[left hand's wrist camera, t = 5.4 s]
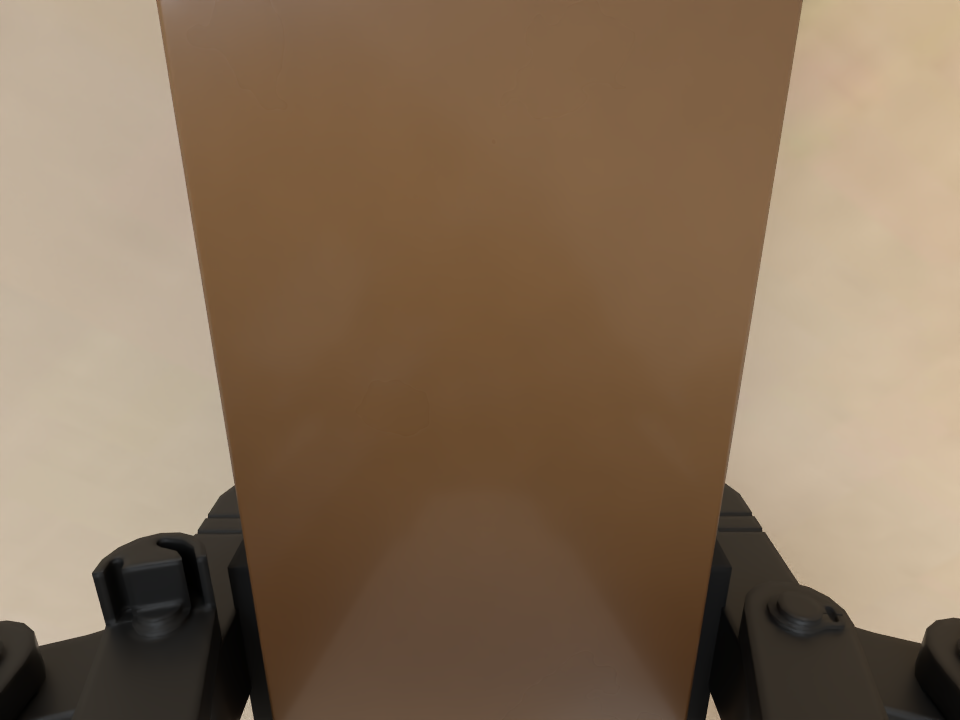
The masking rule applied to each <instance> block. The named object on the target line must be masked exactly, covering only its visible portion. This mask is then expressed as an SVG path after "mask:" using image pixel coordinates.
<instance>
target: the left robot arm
mask: <svg viewBox="0 0 960 720" xmlns="http://www.w3.org/2000/svg"><path fill="white" fill-rule="evenodd" d="M92 576H93V579H94V583H95V587H96V590H97V594H98V598H99V601H100V605H101V609H102V612H103V616H104V620H105V623H106V627H105V630H102V631H99V632H96V633H92V634H89V635H86V636H81V637H77V638H73V639H68V640H64V641H60V642H55V643H51V644H47V645H42V646H38V643H37V640H36V636H35V633H34V631H33V630H32V629H30V628H29V627H28V626H27V625H26V624H24V623H19V622H13V621H0V720H240V718H241V715H242V713H243V710H244V708H245V705H246V702H247V700H248V697H249V695H250V699H251V705H252V711H253V716H254V720H273V718H272V712H271V705H270V699H269V693H268V687H267V681H266V675H265V668H264V662H263V656H262V650H261V644H260V637H259V631H258V625H257V619H256V613H255V607H254V600H253V594H252V588H251V582H250V576H249V569H248V563H247V557H246V551H245V545H244V539H243V532H242V526H241V520H240V514H239V508H238V501H237V495H236V489H235V486H233V487H232V488H231V489H229V490H228V491H226V492H225V493H224V494H222V495H221V496H220V497H219V499H218V500H217V502H216V503H215V505H214V506H213V508H212V509H211V511H210V512H209V514H208V518H206V519H205V520H204V522H203V523H202V525H201V526H200V528H199V529H198V534H195V535H194V536H192V535H188V534H184V533H159V534H155V535H151V536H147V537H142V538H139V539H136V540H134V541H132V542H130V543H128V544H125V545H123V546H121V547H119V548H117V549H116V550H115V551H113V552H112V553H110V554H109V555H108V556H106V557H105V558H104V559H102V560H101V562H100V563H99V564H98V566H97V567H96V569H95V570H94V571H93V573H92ZM710 693H711V695H712V698H713V700H714V703H715V705H716V708H717V711H718V713H719V716H720V718H721V720H960V619H959V618H949V619H943V620H936V621H935V622H934V623H933V624H932V625H930V626H929V627H928V628H927V629H926V632H925V635H924V638H923V641H922V644H921V643H916V642H912V641H908V640H903V639H899V638H895V637H890V636H886V635H881V634H877V633H873V632H870V631H866V630H863V629H860V628H856V627H855V626H854V624H853V623H852V621H851V619H850V618H849V616H848V615H847V613H846V612H845V610H844V609H843V608H841V607H840V606H839V605H838V604H837V603H835V602H834V601H833V600H832V599H831V598H829V597H828V596H826V595H824V594H822V593H820V592H818V591H816V590H814V589H812V588H810V587H806V586H803V585H799V583H798V582H797V580H796V579H795V577H794V576H793V574H792V573H791V571H790V570H789V568H788V567H787V565H786V563H785V562H784V560H783V559H782V557H781V556H780V554H779V553H778V551H777V550H776V548H775V547H774V545H773V544H772V542H771V541H770V539H769V538H768V536H767V535H766V533H765V532H762V527H761V526H760V524H759V523H758V521H757V519H756V518H755V516H752V512H751V510H750V509H749V507H748V506H747V504H746V503H745V501H744V500H743V498H742V497H741V495H740V494H739V493H738V492H736V491H735V490H734V489H732V488H731V487H729V486H728V485H727V484H725V485H724V491H723V497H722V504H721V510H720V516H719V522H718V528H717V535H716V541H715V547H714V553H713V559H712V566H711V572H710V578H709V584H708V590H707V597H706V603H705V609H704V615H703V621H702V628H701V634H700V640H699V646H698V652H697V659H696V665H695V671H694V677H693V683H692V690H691V696H690V702H689V708H688V714H687V720H706V714H707V708H708V703H709V697H710Z"/></svg>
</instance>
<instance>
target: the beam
mask: <svg viewBox="0 0 960 720" xmlns="http://www.w3.org/2000/svg"><path fill="white" fill-rule="evenodd" d="M156 1H157V7H158V13H159V19H160V26H161V32H162V38H163V44H164V50H165V57H166V63H167V69H168V75H169V81H170V87H171V94H172V100H173V106H174V112H175V118H176V124H177V131H178V137H179V143H180V149H181V155H182V162H183V168H184V174H185V180H186V186H187V192H188V199H189V205H190V211H191V217H192V223H193V230H194V236H195V242H196V248H197V254H198V260H199V267H200V273H201V279H202V285H203V291H204V298H205V304H206V310H207V316H208V322H209V328H210V335H211V341H212V347H213V353H214V359H215V366H216V372H217V378H218V384H219V390H220V396H221V403H222V409H223V415H224V421H225V427H226V434H227V440H228V446H229V452H230V458H231V464H232V471H233V477H234V483H235V489H236V495H237V501H238V508H239V514H240V520H241V526H242V532H243V539H244V545H245V551H246V557H247V563H248V569H249V576H250V582H251V588H252V594H253V600H254V607H255V613H256V619H257V625H258V631H259V637H260V644H261V650H262V656H263V662H264V668H265V675H266V681H267V687H268V693H269V699H270V705H271V712H272V718H273V720H687V714H688V708H689V702H690V696H691V690H692V683H693V677H694V671H695V665H696V659H697V652H698V646H699V640H700V634H701V628H702V621H703V615H704V609H705V603H706V597H707V590H708V584H709V578H710V572H711V566H712V559H713V553H714V547H715V541H716V535H717V528H718V522H719V516H720V510H721V504H722V497H723V491H724V485H725V479H726V473H727V466H728V460H729V454H730V448H731V442H732V435H733V429H734V423H735V417H736V411H737V404H738V398H739V392H740V386H741V380H742V373H743V367H744V361H745V355H746V349H747V342H748V336H749V330H750V324H751V318H752V311H753V305H754V299H755V293H756V287H757V280H758V274H759V268H760V262H761V256H762V249H763V243H764V237H765V231H766V225H767V218H768V212H769V206H770V200H771V194H772V188H773V181H774V175H775V169H776V163H777V157H778V150H779V144H780V138H781V132H782V126H783V119H784V113H785V107H786V101H787V95H788V88H789V82H790V76H791V70H792V64H793V57H794V51H795V45H796V39H797V33H798V26H799V20H800V14H801V8H802V2H803V0H156Z"/></svg>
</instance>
